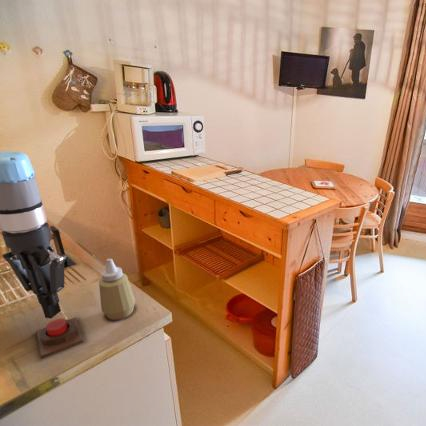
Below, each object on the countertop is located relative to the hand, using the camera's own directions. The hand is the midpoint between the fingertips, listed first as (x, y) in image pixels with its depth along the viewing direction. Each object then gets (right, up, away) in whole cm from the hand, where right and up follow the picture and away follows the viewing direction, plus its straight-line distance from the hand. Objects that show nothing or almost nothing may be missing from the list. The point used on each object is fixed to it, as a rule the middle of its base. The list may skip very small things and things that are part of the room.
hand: (53, 314), depth 76 cm
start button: (0, -5, +2) cm, 5 cm away
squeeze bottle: (+8, -4, +13) cm, 16 cm away
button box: (-1, -8, +3) cm, 8 cm away
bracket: (-25, +6, +31) cm, 41 cm away
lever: (-29, +19, +29) cm, 46 cm away
